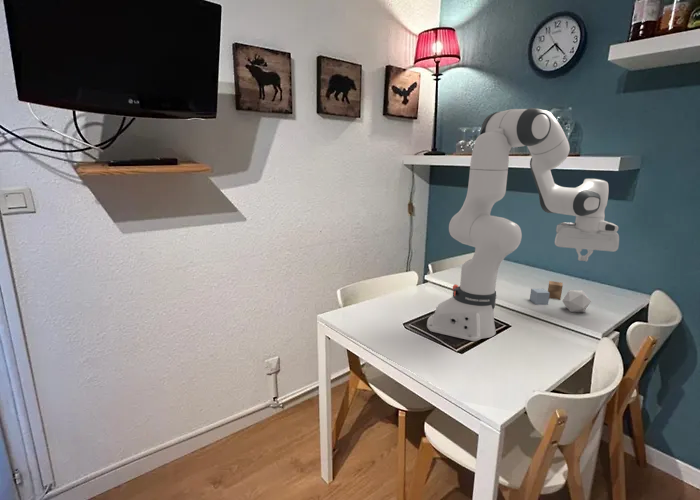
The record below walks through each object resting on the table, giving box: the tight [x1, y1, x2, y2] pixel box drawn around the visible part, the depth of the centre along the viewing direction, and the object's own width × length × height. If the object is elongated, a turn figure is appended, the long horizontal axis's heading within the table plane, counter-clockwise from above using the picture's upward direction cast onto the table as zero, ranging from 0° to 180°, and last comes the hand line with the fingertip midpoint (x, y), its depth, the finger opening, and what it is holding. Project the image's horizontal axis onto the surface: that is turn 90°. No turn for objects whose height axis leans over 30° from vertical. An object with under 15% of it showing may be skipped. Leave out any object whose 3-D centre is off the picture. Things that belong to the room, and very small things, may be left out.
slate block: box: [529, 288, 550, 305], centre depth 158 cm, size 5×5×5 cm
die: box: [561, 289, 592, 313], centre depth 149 cm, size 8×9×10 cm
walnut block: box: [547, 280, 564, 301], centre depth 164 cm, size 5×5×6 cm
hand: (582, 260), depth 145 cm, fingers closed
